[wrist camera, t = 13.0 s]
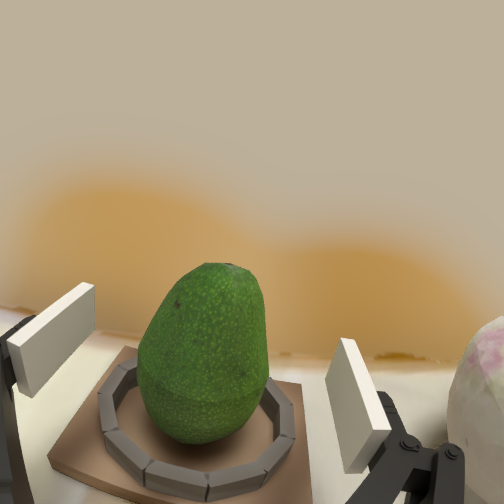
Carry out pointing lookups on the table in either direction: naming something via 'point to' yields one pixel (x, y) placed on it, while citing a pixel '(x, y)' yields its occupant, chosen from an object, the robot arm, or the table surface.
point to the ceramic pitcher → (480, 414)
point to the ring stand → (185, 449)
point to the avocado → (205, 355)
